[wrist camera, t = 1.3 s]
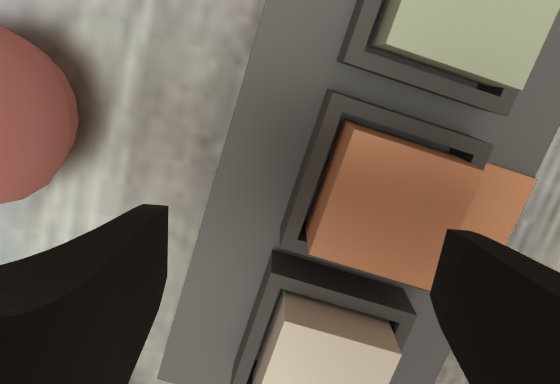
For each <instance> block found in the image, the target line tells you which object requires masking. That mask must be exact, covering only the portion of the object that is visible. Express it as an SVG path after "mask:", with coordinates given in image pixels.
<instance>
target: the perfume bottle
mask: <svg viewBox="0 0 560 384" xmlns="http://www.w3.org/2000/svg"><path fill="white" fill-rule="evenodd" d="M78 123H79V119H78V111H77V103H76V96H75V94H74V92H73V90H72V88H71V86H70V84H69V82H68V80H67V78H66V76H65V74H64V72H63V71H62V70H61V69H60V68H59V67H58V66H57V65H56V64H55V63H54V62H53V61H52V60H51V59H50V57H49V56H48V55H47V54H46V53H45V52H43V51H42V50H40V49H39V48H37V47H36V46H35V45H33V44H32V43H30V42H29V41H28V40H26V39H24V38H22V37H21V36H19V35H17V34H15V33H13V32H12V31H10V30H8V29H6V28H4V27H3V26H1V25H0V204H2V203H7V202H11V201H16V200H21V199H24V198H26V197H28V196H29V195H31V194H33V193H34V192H36V191H37V190H39V189H41V188H42V187H44V186H46V185H47V184H48V183H49V182H50V181H51V179H52V178H53V176H54V175H55V174H56V172H57V171H58V169H59V168H60V167H61V165H62V164H63V162H64V161H65V159H66V157H67V155H68V154H69V152H70V150H71V148H72V146H73V144H74V140H75V136H76V132H77V127H78Z"/></svg>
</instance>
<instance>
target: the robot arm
mask: <svg viewBox="0 0 560 384" xmlns="http://www.w3.org/2000/svg"><path fill="white" fill-rule="evenodd" d="M167 257H168V206H162V205H150V204H142V205H140V206H137V207H135V208H133V209H131V210H130V211H128V212H126V213H124V214H122V215H120V216H118V217H117V218H115V219H113V220H111V221H109V222H107V223H105V224H103V225H102V226H100V227H98V228H96V229H94V230H92V231H90V232H87V233H85V234H83V235H81V236H79V237H77V238H75V239H73V240H70V241H68V242H66V243H64V244H62V245H59V246H57V247H54V248H52V249H49V250H47V251H44V252H41V253H38V254H35V255H32V256H30V257H27V258H24V259H21V260H17V261H14V262H10V263H7V264H3V265H0V384H128V382H129V380H130V378H131V375H132V373H133V370H134V368H135V366H136V363H137V361H138V358H139V356H140V354H141V351H142V349H143V346H144V344H145V342H146V339H147V337H148V334H149V332H150V329H151V327H152V325H153V322H154V320H155V317H156V315H157V312H158V310H159V307H160V303H161V299H162V295H163V291H164V287H165V283H166V279H167ZM430 298H431V302H432V305H433V308H434V311H435V314H436V317H437V320H438V322H439V325H440V328H441V330H442V332H443V334H444V336H445V338H446V340H447V342H448V344H449V346H450V348H451V350H452V351H453V353H454V355H455V357H456V359H457V361H458V363H459V365H460V367H461V369H462V370H463V372H464V374H465V376H466V378H467V380H468V382H469V384H560V273H559V272H557V271H555V270H553V269H551V268H549V267H547V266H545V265H543V264H541V263H539V262H537V261H535V260H533V259H531V258H529V257H527V256H525V255H523V254H521V253H519V252H517V251H515V250H513V249H511V248H509V247H507V246H505V245H503V244H501V243H499V242H497V241H495V240H493V239H490V238H488V237H486V236H484V235H481V234H479V233H476V232H473V231H468V230H456V229H447V231H446V235H445V239H444V242H443V246H442V250H441V254H440V257H439V261H438V265H437V269H436V272H435V276H434V280H433V284H432V287H431V291H430Z"/></svg>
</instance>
